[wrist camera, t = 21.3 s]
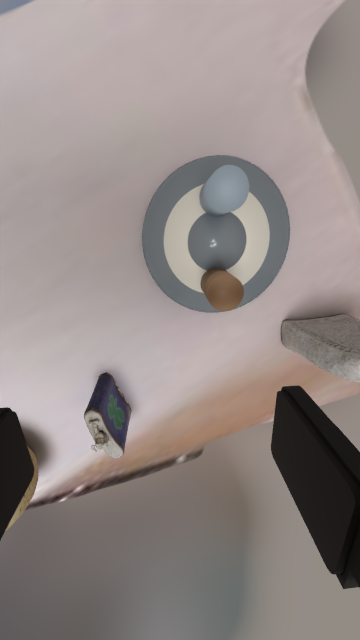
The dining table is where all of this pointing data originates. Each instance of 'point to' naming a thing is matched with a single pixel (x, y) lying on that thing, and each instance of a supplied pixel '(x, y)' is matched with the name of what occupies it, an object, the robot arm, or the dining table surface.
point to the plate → (214, 234)
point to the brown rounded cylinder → (222, 289)
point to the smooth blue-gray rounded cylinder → (224, 190)
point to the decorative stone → (327, 343)
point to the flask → (108, 417)
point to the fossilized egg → (28, 493)
